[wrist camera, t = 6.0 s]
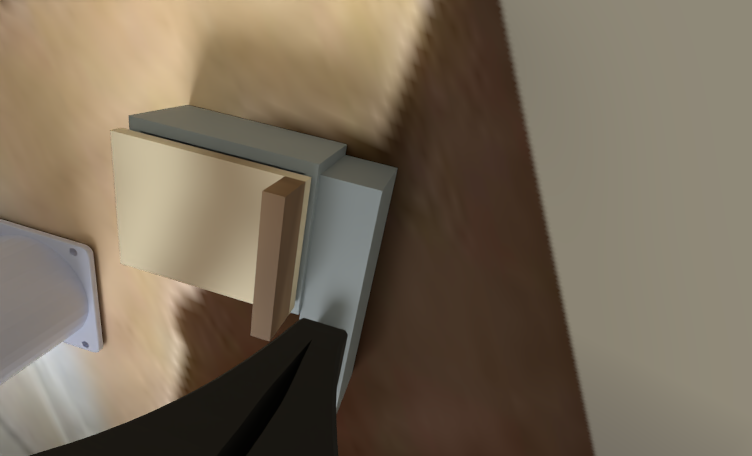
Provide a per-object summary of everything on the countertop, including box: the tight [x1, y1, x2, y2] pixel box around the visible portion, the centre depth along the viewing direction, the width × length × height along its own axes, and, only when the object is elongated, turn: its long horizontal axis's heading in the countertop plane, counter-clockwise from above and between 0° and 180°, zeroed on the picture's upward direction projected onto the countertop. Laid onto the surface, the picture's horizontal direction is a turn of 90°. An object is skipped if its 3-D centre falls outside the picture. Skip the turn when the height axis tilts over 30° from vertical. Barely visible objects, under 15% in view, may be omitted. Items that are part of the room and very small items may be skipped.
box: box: [129, 105, 398, 414], centre depth 20 cm, size 10×13×4 cm
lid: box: [110, 128, 311, 341], centre depth 16 cm, size 8×6×2 cm
